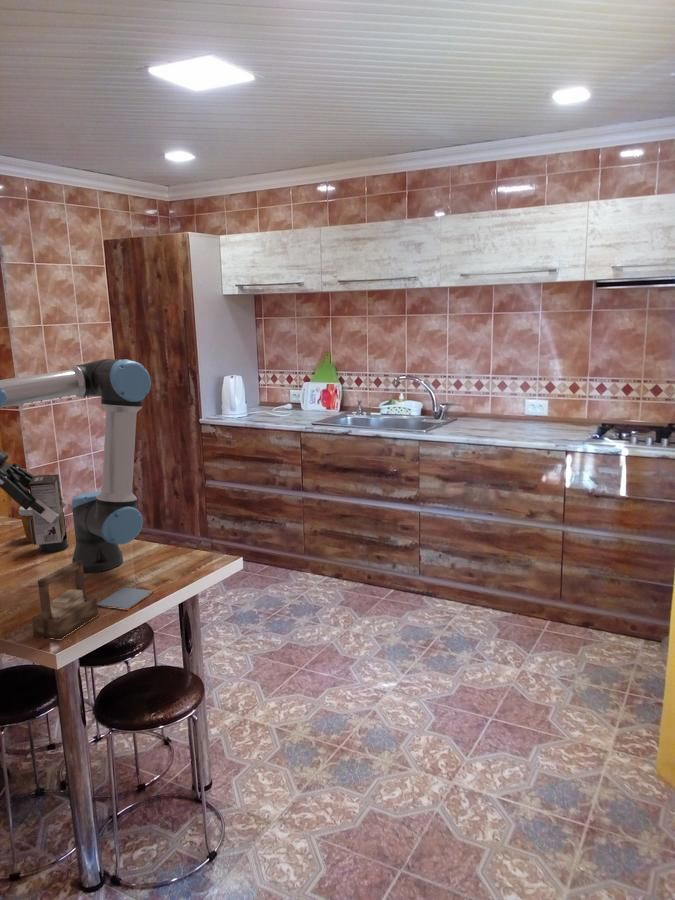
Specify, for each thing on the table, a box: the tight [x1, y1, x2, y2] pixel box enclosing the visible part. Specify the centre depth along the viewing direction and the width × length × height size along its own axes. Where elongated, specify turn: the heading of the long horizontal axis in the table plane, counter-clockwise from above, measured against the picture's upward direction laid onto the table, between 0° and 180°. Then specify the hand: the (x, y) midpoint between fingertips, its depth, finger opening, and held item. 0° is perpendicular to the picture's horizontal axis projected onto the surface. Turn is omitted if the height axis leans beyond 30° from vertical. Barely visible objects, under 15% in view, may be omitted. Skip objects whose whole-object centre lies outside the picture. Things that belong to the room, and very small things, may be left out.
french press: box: [30, 497, 69, 554], centre depth 226 cm, size 12×9×23 cm
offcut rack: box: [31, 560, 99, 639], centre depth 168 cm, size 14×8×15 cm, turn 161°
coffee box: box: [29, 473, 66, 546], centre depth 173 cm, size 9×6×16 cm
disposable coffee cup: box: [18, 505, 36, 543], centre depth 237 cm, size 10×10×12 cm
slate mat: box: [97, 586, 153, 609], centre depth 185 cm, size 12×10×1 cm
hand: (59, 513), depth 174 cm, fingers closed on coffee box, 9 cm apart
